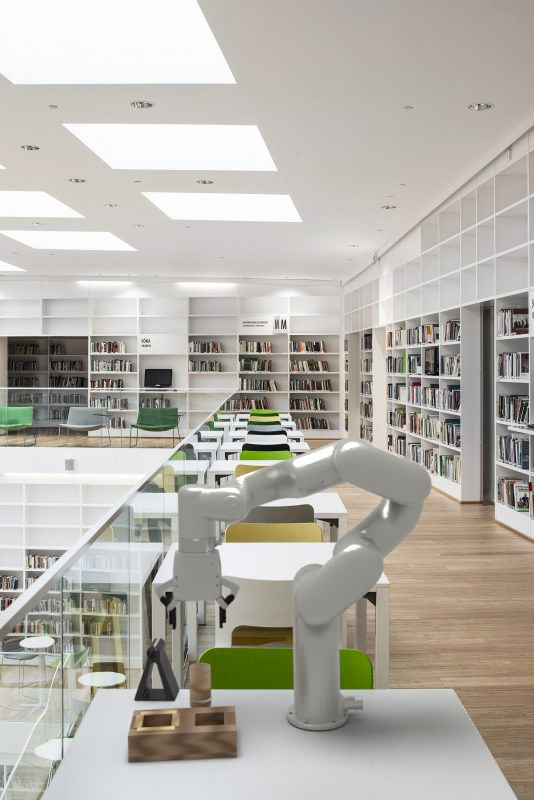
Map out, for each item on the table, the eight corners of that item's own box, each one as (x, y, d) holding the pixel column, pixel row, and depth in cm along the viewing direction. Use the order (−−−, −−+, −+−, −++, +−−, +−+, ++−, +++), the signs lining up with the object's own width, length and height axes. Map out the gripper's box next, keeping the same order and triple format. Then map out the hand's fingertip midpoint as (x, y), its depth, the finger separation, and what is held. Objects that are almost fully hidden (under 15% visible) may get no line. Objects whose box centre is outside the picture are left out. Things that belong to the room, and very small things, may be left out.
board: (235, 730, 157) (234, 704, 157) (236, 757, 146) (236, 729, 146) (134, 735, 156) (134, 709, 156) (128, 762, 145) (127, 734, 145)
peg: (211, 713, 165) (210, 662, 165) (211, 723, 161) (210, 670, 160) (190, 714, 165) (189, 662, 164) (189, 724, 160) (188, 671, 160)
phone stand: (179, 690, 178) (178, 637, 177) (174, 701, 172) (173, 647, 171) (140, 689, 178) (139, 637, 178) (134, 700, 172) (132, 646, 172)
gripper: (238, 539, 166) (239, 620, 166) (155, 541, 165) (156, 622, 165) (239, 547, 158) (240, 631, 159) (152, 549, 157) (154, 634, 158)
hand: (197, 627), depth 162 cm, fingers open, 9 cm apart
